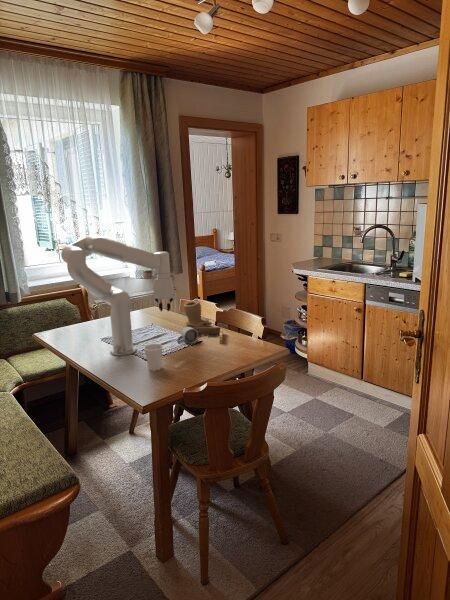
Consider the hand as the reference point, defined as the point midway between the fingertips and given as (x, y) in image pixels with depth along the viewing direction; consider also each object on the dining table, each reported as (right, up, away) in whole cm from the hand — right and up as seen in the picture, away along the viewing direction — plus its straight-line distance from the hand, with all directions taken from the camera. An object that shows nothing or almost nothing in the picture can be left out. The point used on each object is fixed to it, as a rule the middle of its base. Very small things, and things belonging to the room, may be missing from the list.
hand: (164, 310), depth 214 cm
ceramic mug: (+11, -17, +3) cm, 21 cm away
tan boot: (+14, -11, +30) cm, 35 cm away
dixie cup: (0, -25, -31) cm, 40 cm away
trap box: (+20, -16, +6) cm, 26 cm away
